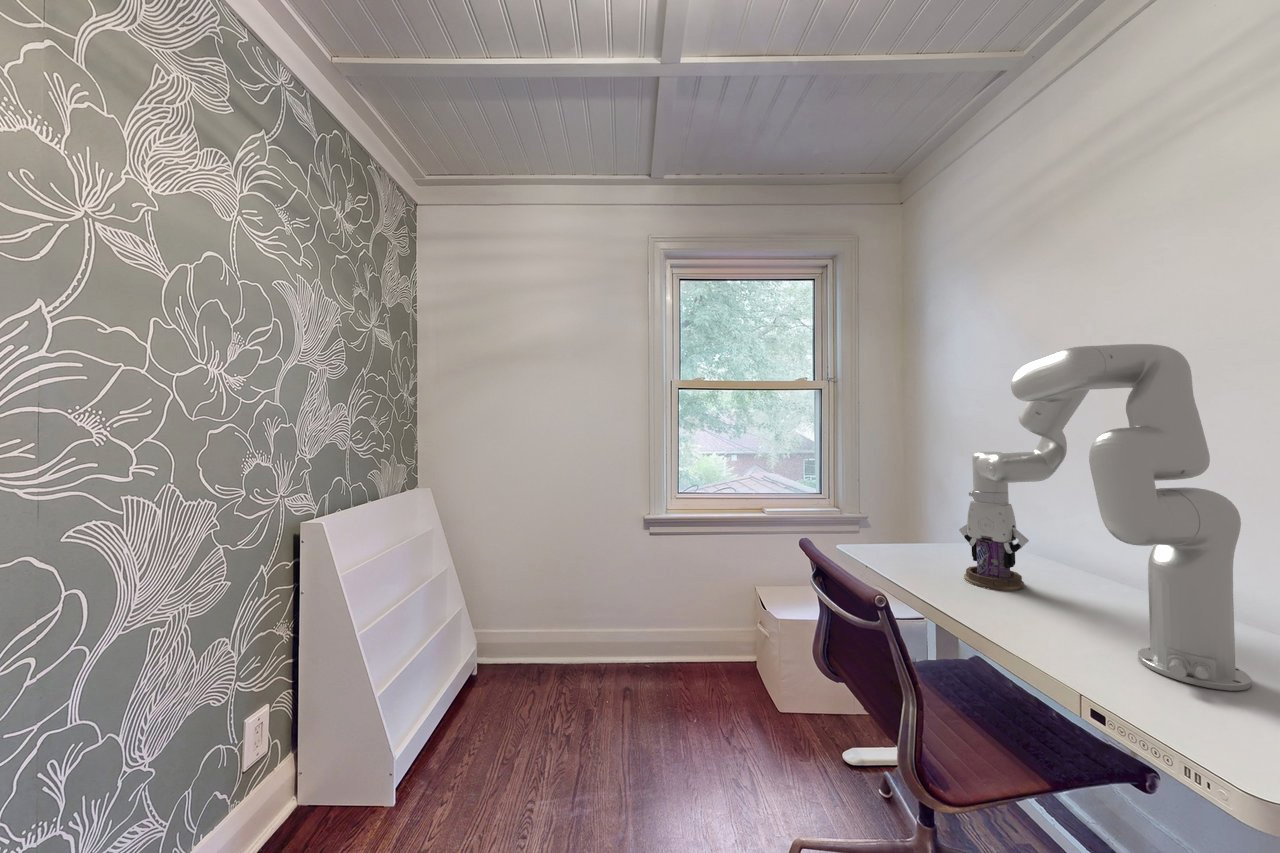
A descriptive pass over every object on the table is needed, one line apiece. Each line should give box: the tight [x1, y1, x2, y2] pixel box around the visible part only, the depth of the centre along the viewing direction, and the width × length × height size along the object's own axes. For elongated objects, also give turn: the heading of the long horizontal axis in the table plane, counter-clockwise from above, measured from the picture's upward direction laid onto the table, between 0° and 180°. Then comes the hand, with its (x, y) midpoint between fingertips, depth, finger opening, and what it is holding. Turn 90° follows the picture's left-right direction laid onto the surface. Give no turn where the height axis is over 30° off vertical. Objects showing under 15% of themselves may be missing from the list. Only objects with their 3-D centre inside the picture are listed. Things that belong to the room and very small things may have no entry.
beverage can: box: [976, 535, 1011, 579], centre depth 126 cm, size 7×7×12 cm
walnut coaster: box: [963, 565, 1025, 592], centre depth 126 cm, size 13×13×3 cm
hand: (993, 563), depth 126 cm, fingers closed on beverage can, 7 cm apart
